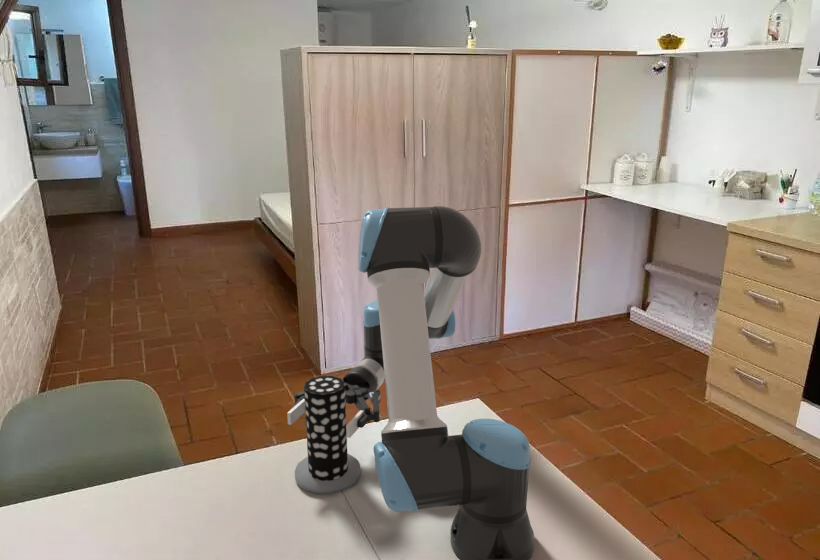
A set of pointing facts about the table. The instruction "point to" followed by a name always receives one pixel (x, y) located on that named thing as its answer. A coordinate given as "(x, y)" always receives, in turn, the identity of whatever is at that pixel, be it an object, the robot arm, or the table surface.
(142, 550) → the table surface
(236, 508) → the table surface
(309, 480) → the dish
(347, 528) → the table surface
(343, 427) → the white-spotted black cylinder
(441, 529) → the table surface
